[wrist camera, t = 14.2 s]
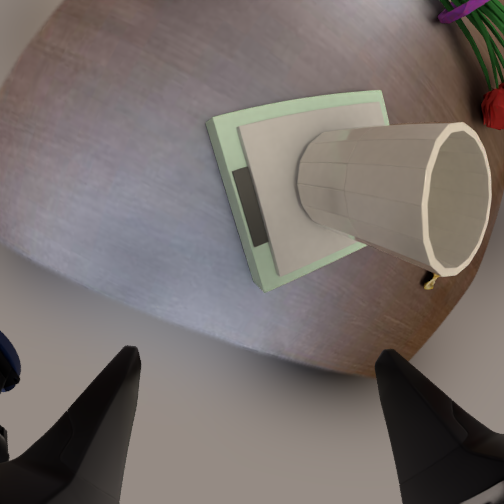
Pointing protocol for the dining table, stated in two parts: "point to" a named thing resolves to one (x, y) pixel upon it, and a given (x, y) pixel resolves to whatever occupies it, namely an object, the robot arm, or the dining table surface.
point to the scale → (283, 179)
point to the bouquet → (473, 6)
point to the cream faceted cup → (402, 190)
